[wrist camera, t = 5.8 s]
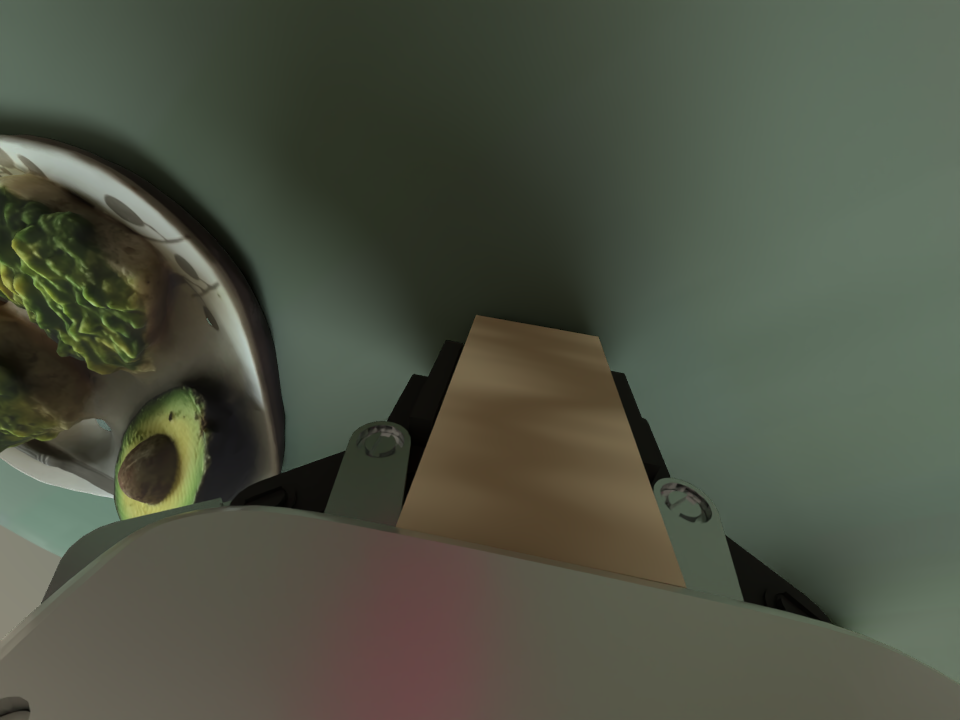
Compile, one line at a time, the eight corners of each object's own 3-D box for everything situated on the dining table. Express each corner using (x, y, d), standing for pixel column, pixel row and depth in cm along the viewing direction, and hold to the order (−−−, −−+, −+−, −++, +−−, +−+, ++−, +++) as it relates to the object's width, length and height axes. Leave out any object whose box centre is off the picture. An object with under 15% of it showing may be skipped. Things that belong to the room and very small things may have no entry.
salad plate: (-18, 455, 21) (-147, 526, 17) (-295, 66, 12) (-694, 25, 8) (308, 529, 21) (253, 620, 17) (266, 174, 12) (124, 185, 8)
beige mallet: (598, 336, 12) (687, 588, 5) (490, 667, 23) (471, 885, 16) (476, 314, 12) (395, 527, 5) (428, 653, 23) (383, 863, 16)
